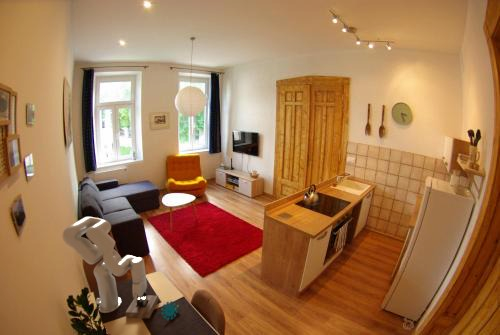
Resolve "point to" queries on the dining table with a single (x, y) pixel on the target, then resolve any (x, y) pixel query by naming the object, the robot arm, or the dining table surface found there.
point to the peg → (143, 301)
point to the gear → (169, 310)
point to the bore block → (142, 312)
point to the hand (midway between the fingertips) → (142, 302)
